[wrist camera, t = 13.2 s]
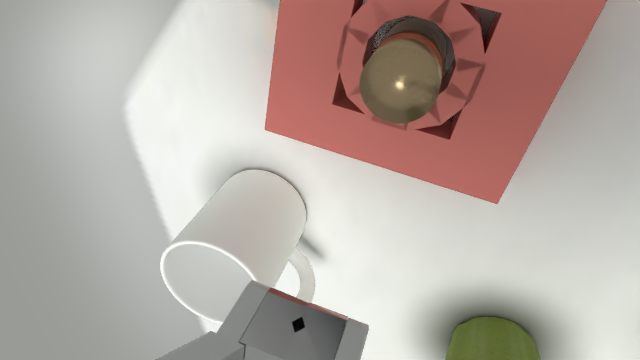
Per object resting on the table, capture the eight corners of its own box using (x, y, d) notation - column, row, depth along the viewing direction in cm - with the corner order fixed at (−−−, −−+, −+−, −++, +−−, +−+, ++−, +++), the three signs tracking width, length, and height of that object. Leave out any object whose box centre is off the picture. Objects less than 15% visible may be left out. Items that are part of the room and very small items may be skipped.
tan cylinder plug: (457, 29, 27) (452, 61, 21) (432, 90, 30) (422, 133, 24) (393, 9, 28) (372, 35, 22) (374, 70, 30) (350, 108, 24)
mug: (357, 242, 39) (324, 335, 31) (299, 277, 43) (257, 367, 35) (258, 148, 37) (194, 222, 28) (209, 196, 41) (141, 271, 33)
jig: (611, -45, 23) (627, -38, 21) (495, 180, 32) (497, 204, 29) (311, -114, 25) (293, -116, 23) (279, 113, 34) (264, 129, 32)
